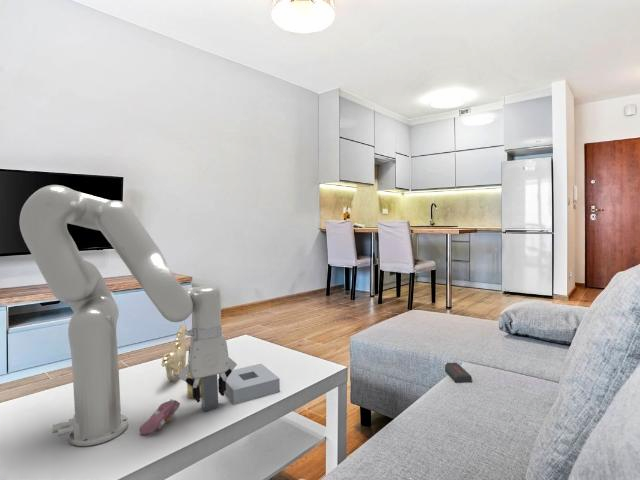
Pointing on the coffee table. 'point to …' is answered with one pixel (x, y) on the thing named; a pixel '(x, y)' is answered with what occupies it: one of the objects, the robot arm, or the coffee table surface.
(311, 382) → the coffee table surface
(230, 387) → the socket block
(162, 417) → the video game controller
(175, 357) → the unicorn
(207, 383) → the square bit
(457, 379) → the usb drive
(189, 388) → the round bit
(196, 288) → the robot arm
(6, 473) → the coffee table surface
